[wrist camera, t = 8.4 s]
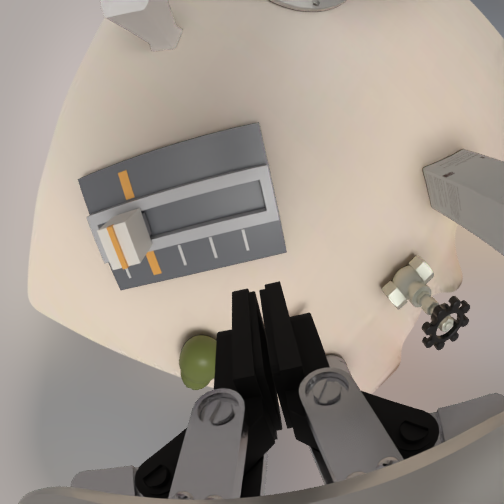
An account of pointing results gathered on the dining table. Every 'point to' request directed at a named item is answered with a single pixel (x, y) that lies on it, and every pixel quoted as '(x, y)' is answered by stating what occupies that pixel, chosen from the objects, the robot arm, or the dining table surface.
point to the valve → (426, 302)
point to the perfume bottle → (145, 21)
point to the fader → (126, 239)
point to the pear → (198, 361)
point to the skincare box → (470, 194)
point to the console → (192, 205)
